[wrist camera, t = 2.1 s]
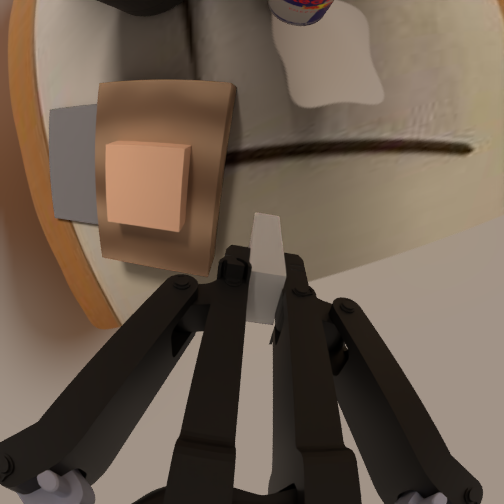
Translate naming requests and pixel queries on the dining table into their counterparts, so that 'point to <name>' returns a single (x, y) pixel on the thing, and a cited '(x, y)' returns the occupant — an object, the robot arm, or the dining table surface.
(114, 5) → the pen holder
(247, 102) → the dining table surface
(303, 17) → the energy drink
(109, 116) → the board
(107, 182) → the coaster
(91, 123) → the mat
